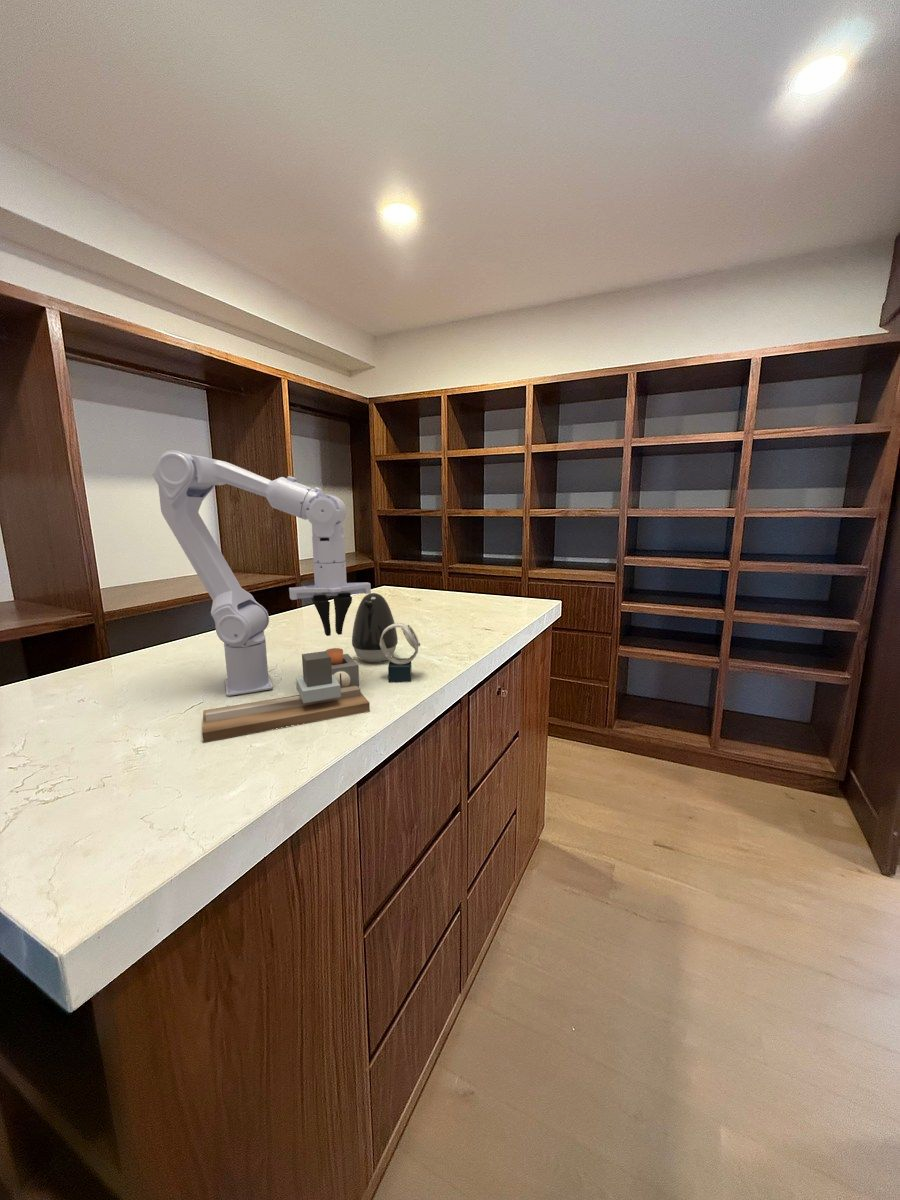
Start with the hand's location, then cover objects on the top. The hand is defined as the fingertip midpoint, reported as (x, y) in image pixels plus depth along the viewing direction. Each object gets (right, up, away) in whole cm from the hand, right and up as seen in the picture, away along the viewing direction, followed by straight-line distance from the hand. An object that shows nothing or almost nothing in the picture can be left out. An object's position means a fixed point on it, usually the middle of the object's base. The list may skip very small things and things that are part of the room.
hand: (333, 634), depth 90 cm
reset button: (0, -5, +1) cm, 5 cm away
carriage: (0, -9, -9) cm, 13 cm away
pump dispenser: (+5, -7, +19) cm, 21 cm away
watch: (+12, -9, +7) cm, 17 cm away
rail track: (-5, -13, -11) cm, 17 cm away
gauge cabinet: (0, -10, +2) cm, 10 cm away
